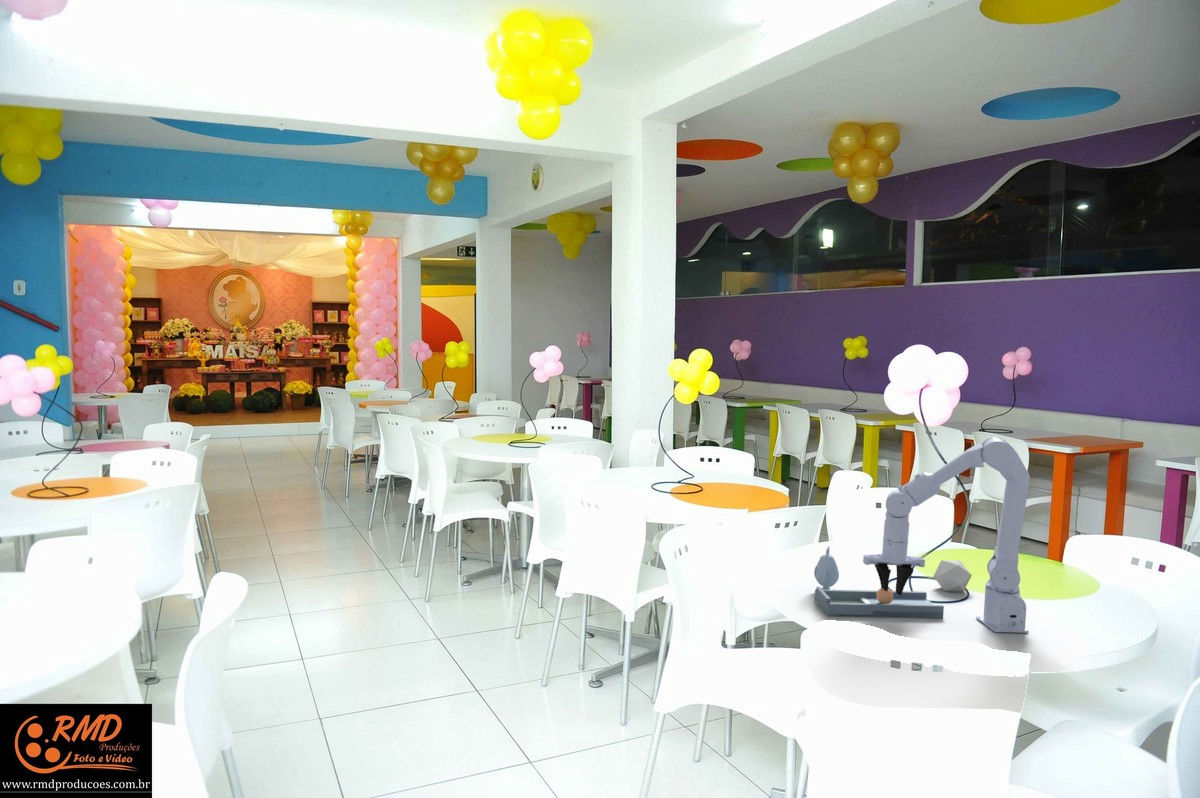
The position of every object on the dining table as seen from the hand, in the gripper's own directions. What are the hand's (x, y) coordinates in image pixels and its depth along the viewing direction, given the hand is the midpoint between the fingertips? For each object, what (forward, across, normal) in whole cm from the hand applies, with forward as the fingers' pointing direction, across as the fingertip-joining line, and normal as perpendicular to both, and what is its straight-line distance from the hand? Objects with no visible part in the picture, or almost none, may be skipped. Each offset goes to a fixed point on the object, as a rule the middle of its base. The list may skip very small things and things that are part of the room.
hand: (891, 593), depth 198 cm
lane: (+4, +3, 0) cm, 5 cm away
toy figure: (+5, +12, -13) cm, 18 cm away
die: (+4, -23, -17) cm, 28 cm away
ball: (+1, +2, 0) cm, 2 cm away
